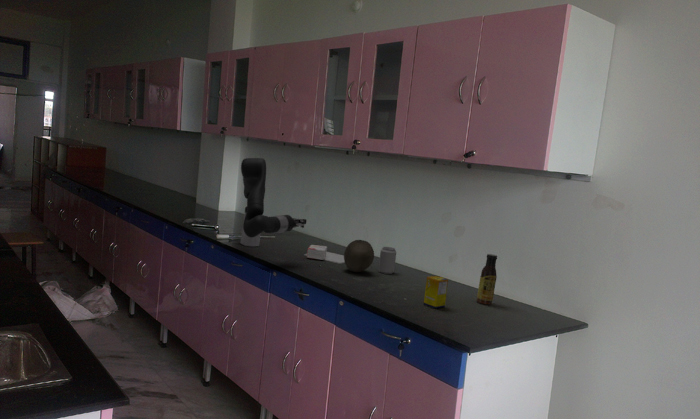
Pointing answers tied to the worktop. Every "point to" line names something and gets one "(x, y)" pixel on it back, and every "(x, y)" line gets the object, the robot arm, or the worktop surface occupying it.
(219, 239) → the worktop surface
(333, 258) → the mat
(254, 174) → the robot arm
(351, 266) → the cantaloupe
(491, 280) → the sauce bottle
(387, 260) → the can
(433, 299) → the supplement box
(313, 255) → the ink cartridge box
